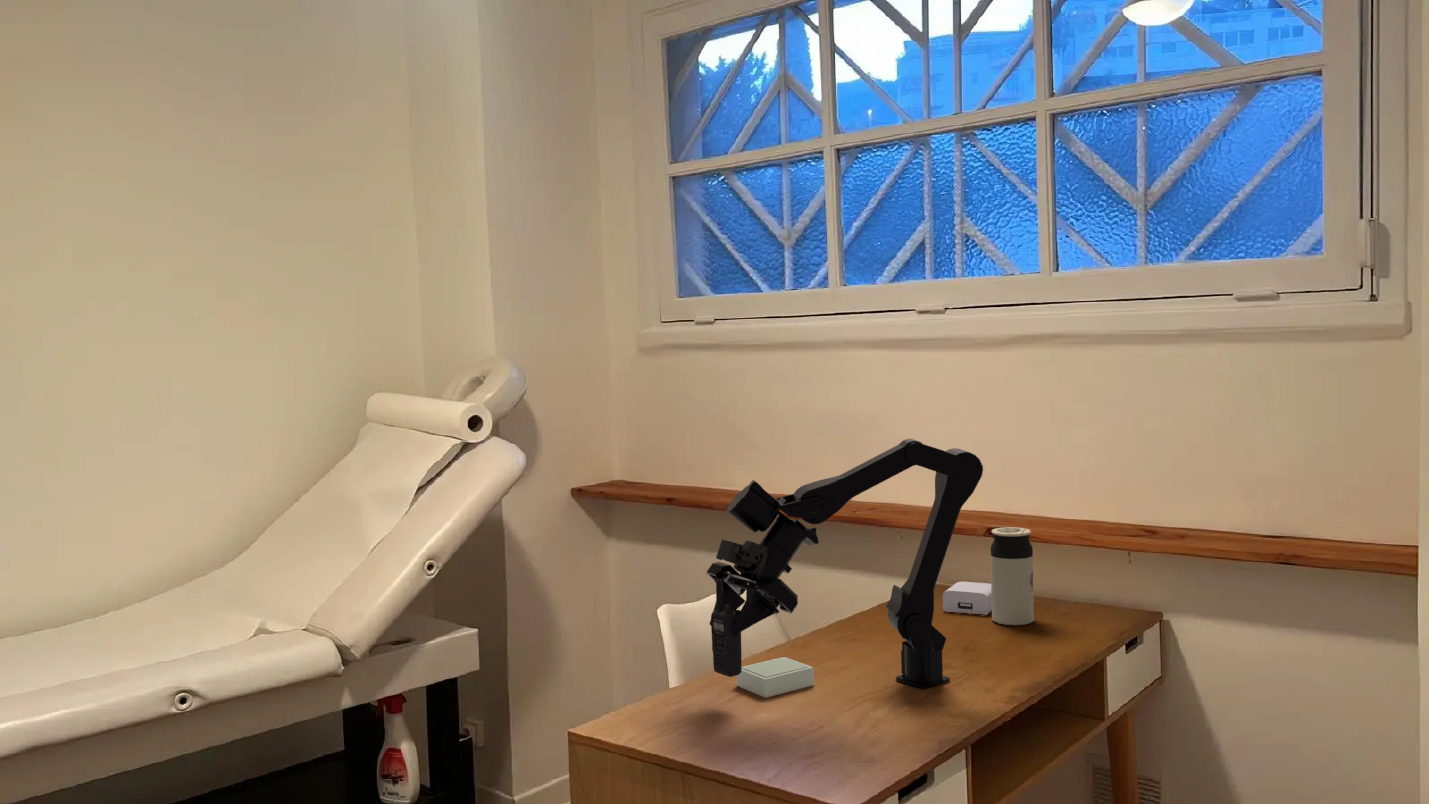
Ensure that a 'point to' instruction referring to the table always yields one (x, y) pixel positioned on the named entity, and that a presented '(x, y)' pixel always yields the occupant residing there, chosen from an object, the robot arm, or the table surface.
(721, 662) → the two-way radio
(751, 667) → the sage tile
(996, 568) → the travel mug
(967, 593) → the charger
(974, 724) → the table surface
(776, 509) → the robot arm
